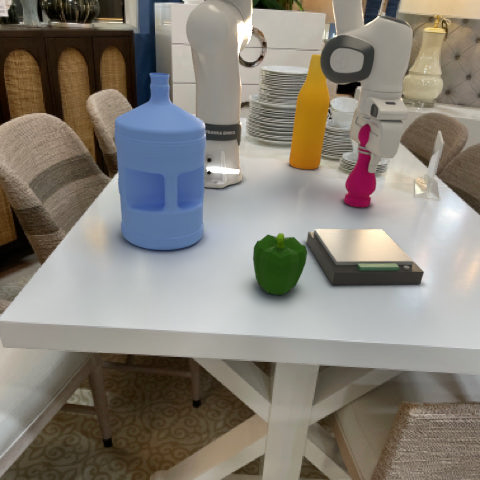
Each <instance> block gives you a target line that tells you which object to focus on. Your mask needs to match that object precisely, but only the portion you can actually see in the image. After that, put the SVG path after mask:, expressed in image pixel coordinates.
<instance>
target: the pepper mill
mask: <svg viewBox="0 0 480 480" xmlns="http://www.w3.org/2000/svg"><path fill="white" fill-rule="evenodd" d="M370 132H371V128H370V126H369V124H365V125H364V126H362V127H361V129H360V131H359V133H358V139H359V141H360V144H359V145H358V144H357V147H358V149H357V148H356V149H357V151H356V152H357V159H356V163H355V166H354V167H353V169H352V170H351V171H350V173H349V175H348V176H347V178H346V180H345V185H344V187H345V189H346V191H347V192H346V193H345V194H344V199H343V202H344V203H345V204H346V205H348V206H351V207H354V208H368V207H369V206H370V205H371V201H372V198H371V195H373V193H374V192H375V191H376V189H377V178H376V172H375V173H369V172H368V171H367V164H368V163H369V162H370V160H371V152H370V151H368V150H367V149H366V148H365V145H366V144H367V142H368V140H369V134H370ZM358 152H359V154H358Z"/></svg>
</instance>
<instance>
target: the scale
mask: <svg viewBox="0 0 480 480" xmlns="http://www.w3.org/2000/svg"><path fill="white" fill-rule="evenodd" d="M306 244H307V246H308V248H309V249H310V251H311V253H312V254H313V257H314V258H315V259H316V261H317V262H318V264H319V266H320V267H321V268H322V271H323V272H324V274H325V275H326V277H327V278H328V280H329V282H330V283H331V285H332V286H362V285H363V286H367V285H369V286H370V285H374V286H375V285H421V283H422V280H423V276H424V274H425V271H424V270H423V269H422V268H421V267H420V266H419V265H418V264H416V262H415V261H414V260H413V259H412V258H411V257H410V256H409V255H408V254H407V253H406V252H405V251H404V250H403V249H402V248H401V247H400V246H399V245H398V244H397V243H396V242H395V241H394V240H393V239H392V238H391V237H390V236H389V234H387V233H386V232H385V231H384V230H383V229H367V228H365V229H364V228H363V229H360V228H359V229H358V228H355V229H354V228H353V229H352V228H350V229H349V228H343V229H341V228H338V229H336V228H335V229H334V228H314V230H313V231H308V232H307V238H306Z"/></svg>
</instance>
